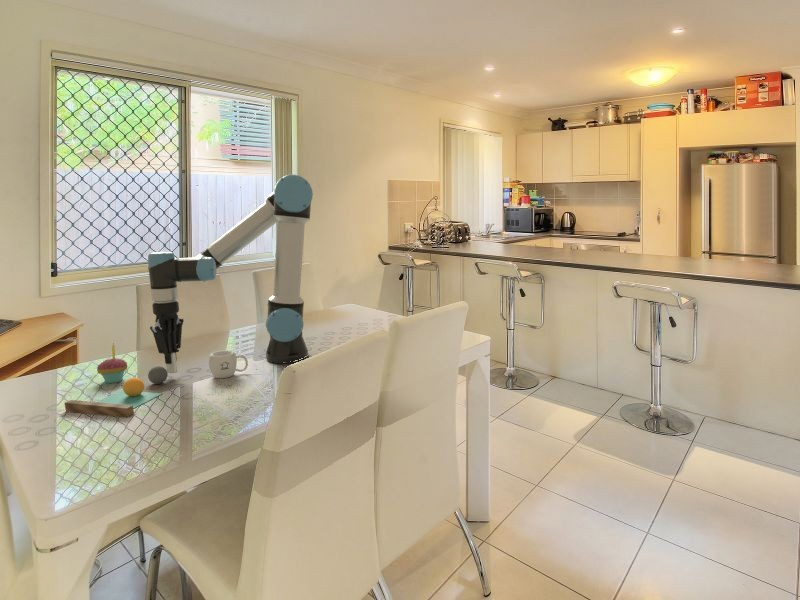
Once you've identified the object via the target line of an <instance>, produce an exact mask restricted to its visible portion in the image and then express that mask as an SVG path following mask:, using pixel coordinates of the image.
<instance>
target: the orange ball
mask: <svg viewBox="0 0 800 600" xmlns="http://www.w3.org/2000/svg"><path fill="white" fill-rule="evenodd" d="M122 390H123V391H124V393H125V394H126V395H128V396H131V397H135V396H138V395H140V394H141V393H142V392H144V390H145V383H144V380H142V379H141V378H139V377H131V378H127V379H126V381H124V383H123V385H122Z"/></svg>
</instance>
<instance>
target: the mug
mask: <svg viewBox="0 0 800 600" xmlns="http://www.w3.org/2000/svg"><path fill="white" fill-rule="evenodd" d="M239 358H242V359H244V362H245V366H244V367H243V368H242V369H238V368H237V363H238V362H237V359H239ZM208 365H209V370H210V373H211V375H212V376H213V378H215V379H228V378H231V377H232V376H234V375H235V372H244V371H246V370H247V369H248V366H249V362H248V359H247V357H246V356H244V355H242V354H239V355H236V352H235V351H233V350H229V349H228V350H225V349H224V350H216V351H213V352H211V353H210V354H209V357H208Z"/></svg>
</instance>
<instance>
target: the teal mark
mask: <svg viewBox="0 0 800 600" xmlns="http://www.w3.org/2000/svg"><path fill="white" fill-rule="evenodd" d="M162 395H163V393H160V392H150V391H149V392H147V391H143V392H142V393H141V394H140V395H138V396H135V397H131V396H128V395H126V394H125V393H124V391H123V389H122V390H120V391H118V392H115V393H112V394H111V395H108V396H106V397H104V398H102V399H100V400H97V401H96V402H100V403H111V404H122V405H133V410H134V409H136V408H138V407H140V406H142V405H144V404H146V403H147V402H149V401H152V400H153V399H155V398H158V397H160V396H162Z"/></svg>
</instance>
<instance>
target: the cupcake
mask: <svg viewBox="0 0 800 600" xmlns="http://www.w3.org/2000/svg"><path fill="white" fill-rule="evenodd" d="M115 348H116V347H115V344H114V342H113V343H112V345H111V350H112V354H111V355H112V356H111V357H112V358H110V359H106V360H103V361H102V362H100V363H99V364H98V365H97V367H96V369H97V370H96V371H97V374H100V375H101V377H102V378H103V379H104V381H105V383H108V384H113V383H117V382H118V383H119V382H121V381H123V378H124V374H125V372H126V370H128V362H127V361H125V360H124V359H121V358H118V357H117V358H116V350H115Z"/></svg>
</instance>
